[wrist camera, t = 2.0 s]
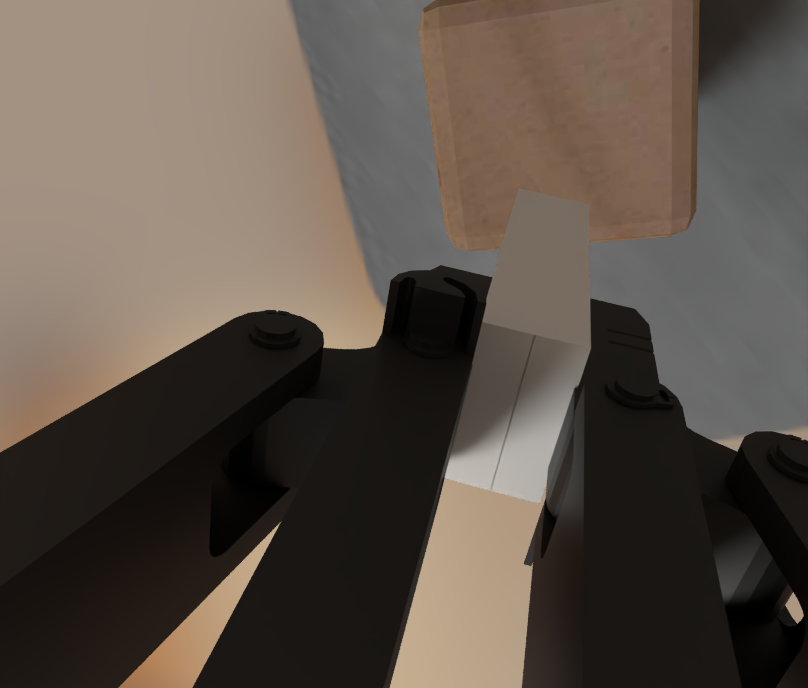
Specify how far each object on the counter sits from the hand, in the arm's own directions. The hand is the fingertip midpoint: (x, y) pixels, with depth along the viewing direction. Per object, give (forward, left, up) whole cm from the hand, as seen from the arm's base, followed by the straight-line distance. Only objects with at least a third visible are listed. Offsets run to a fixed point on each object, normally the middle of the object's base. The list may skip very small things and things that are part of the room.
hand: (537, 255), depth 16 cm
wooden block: (0, 0, -34) cm, 34 cm away
